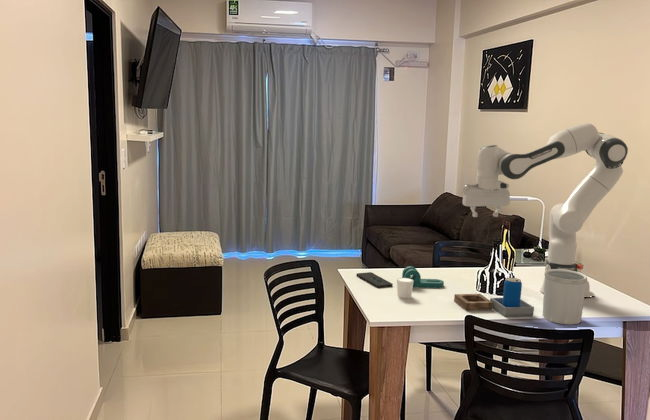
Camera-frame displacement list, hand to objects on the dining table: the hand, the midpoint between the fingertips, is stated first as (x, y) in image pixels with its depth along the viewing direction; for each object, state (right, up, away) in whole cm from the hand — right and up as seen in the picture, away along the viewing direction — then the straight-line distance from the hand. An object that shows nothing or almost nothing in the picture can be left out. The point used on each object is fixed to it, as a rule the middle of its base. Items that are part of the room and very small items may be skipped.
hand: (485, 216), depth 243 cm
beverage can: (+5, -36, -18) cm, 41 cm away
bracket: (-24, -31, +12) cm, 41 cm away
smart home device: (-46, -30, +16) cm, 57 cm away
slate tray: (+5, -37, -18) cm, 41 cm away
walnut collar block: (-9, -35, -13) cm, 39 cm away
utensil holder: (+22, -39, -24) cm, 51 cm away
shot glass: (-35, -33, -4) cm, 48 cm away
